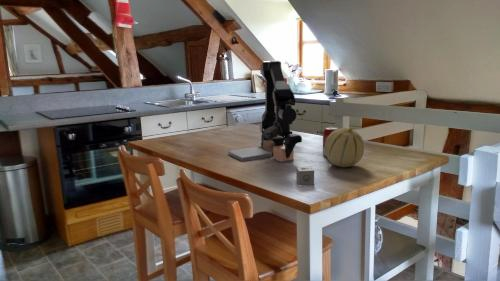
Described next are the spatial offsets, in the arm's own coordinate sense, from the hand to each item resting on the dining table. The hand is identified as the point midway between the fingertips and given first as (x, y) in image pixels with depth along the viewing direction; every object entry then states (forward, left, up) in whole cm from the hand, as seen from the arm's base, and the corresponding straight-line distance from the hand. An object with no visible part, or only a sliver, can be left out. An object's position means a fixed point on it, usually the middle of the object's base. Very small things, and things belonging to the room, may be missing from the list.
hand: (283, 156), depth 162 cm
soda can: (-19, +7, -1) cm, 20 cm away
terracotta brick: (0, 0, -1) cm, 1 cm away
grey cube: (+11, +31, -1) cm, 32 cm away
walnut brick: (-3, -14, -1) cm, 14 cm away
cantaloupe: (-13, +22, -1) cm, 26 cm away
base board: (+9, -13, -1) cm, 16 cm away
